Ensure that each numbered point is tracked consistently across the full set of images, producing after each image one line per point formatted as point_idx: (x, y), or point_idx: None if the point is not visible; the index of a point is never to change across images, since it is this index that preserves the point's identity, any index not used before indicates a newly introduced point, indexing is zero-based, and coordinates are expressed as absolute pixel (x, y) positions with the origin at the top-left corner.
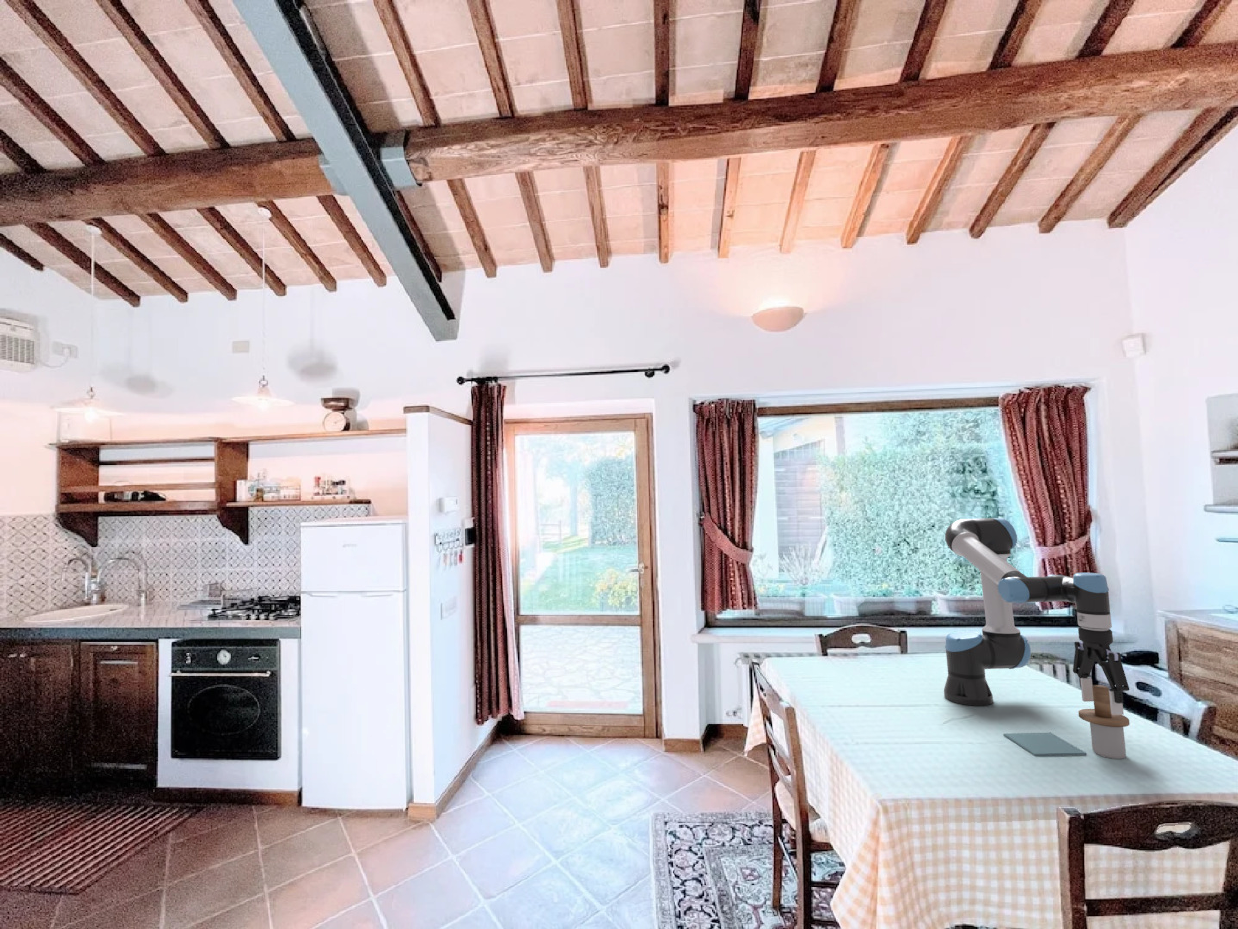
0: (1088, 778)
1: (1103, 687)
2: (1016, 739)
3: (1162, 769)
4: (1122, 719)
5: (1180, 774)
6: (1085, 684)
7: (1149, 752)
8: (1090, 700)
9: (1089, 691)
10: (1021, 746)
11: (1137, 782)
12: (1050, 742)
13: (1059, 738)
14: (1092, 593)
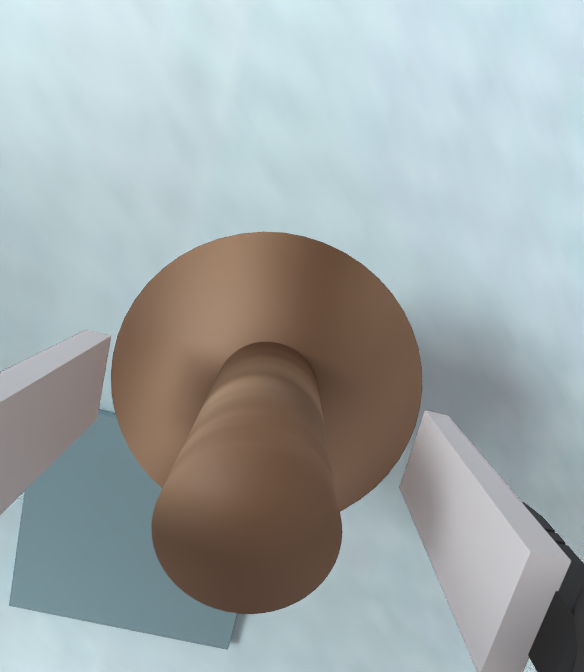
0: (440, 620)
1: (272, 512)
2: (82, 606)
3: (491, 276)
4: (369, 332)
5: (553, 253)
6: (4, 478)
7: (340, 131)
8: (102, 368)
9: (59, 400)
10: (143, 628)
11: (529, 491)
12: (144, 502)
13: (112, 425)
14: None
